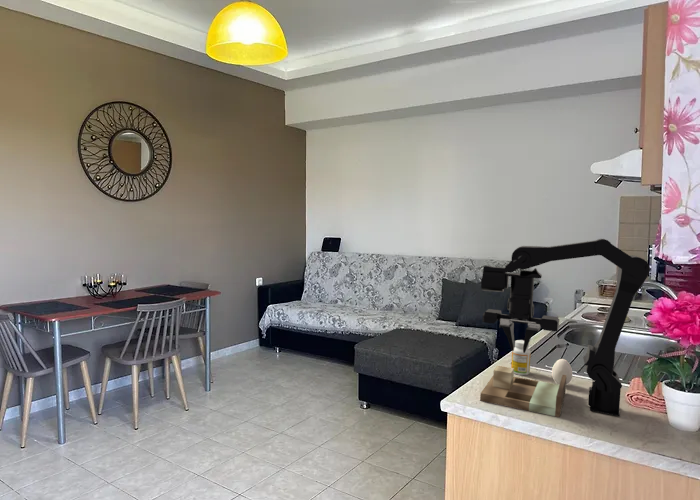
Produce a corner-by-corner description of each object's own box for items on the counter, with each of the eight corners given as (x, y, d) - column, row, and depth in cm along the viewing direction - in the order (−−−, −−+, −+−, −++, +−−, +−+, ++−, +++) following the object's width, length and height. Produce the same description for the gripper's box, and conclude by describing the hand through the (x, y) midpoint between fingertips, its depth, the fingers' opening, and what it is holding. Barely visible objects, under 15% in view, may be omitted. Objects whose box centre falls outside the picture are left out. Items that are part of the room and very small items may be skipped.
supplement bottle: (518, 368, 150) (520, 338, 149) (533, 373, 145) (535, 342, 144) (507, 371, 147) (508, 340, 146) (521, 376, 142) (523, 344, 142)
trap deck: (565, 392, 130) (566, 375, 130) (559, 417, 114) (560, 397, 114) (494, 379, 139) (495, 363, 139) (480, 400, 123) (480, 381, 123)
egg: (572, 384, 137) (573, 358, 136) (570, 390, 132) (572, 363, 132) (552, 380, 140) (553, 355, 139) (550, 386, 135) (551, 359, 134)
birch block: (513, 384, 130) (513, 368, 130) (510, 389, 126) (511, 373, 126) (496, 381, 132) (497, 365, 132) (492, 386, 128) (493, 370, 128)
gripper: (562, 293, 128) (559, 349, 129) (492, 286, 137) (489, 339, 138) (558, 299, 118) (555, 360, 119) (483, 291, 127) (480, 348, 128)
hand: (518, 351), depth 127 cm, fingers open, 3 cm apart
